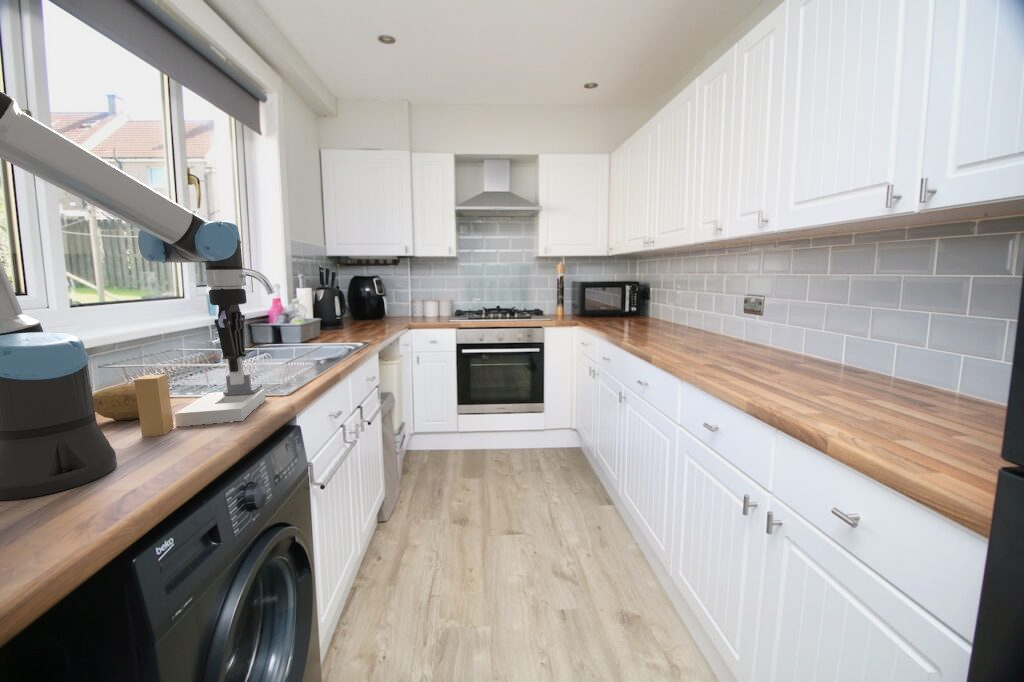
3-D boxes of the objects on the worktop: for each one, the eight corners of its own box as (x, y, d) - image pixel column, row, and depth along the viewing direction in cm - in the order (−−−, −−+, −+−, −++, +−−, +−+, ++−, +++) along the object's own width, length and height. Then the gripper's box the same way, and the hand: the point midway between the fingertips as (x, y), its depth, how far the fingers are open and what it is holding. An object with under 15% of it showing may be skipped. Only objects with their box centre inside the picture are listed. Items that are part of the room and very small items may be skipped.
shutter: (253, 393, 113) (251, 374, 112) (223, 395, 111) (221, 376, 110) (262, 387, 119) (260, 369, 118) (233, 388, 118) (231, 371, 117)
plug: (164, 434, 93) (157, 378, 91) (142, 436, 92) (134, 379, 90) (173, 428, 97) (166, 374, 95) (152, 430, 96) (145, 375, 94)
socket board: (242, 421, 101) (240, 408, 100) (176, 426, 98) (174, 413, 97) (265, 400, 118) (264, 389, 118) (210, 404, 115) (208, 392, 115)
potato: (99, 418, 105) (94, 384, 104) (173, 408, 112) (169, 377, 111) (86, 430, 97) (80, 394, 96) (167, 418, 104) (162, 385, 102)
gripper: (234, 288, 102) (245, 389, 106) (253, 287, 115) (262, 377, 118) (197, 289, 100) (209, 391, 104) (220, 287, 113) (230, 379, 116)
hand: (237, 383), depth 111 cm, fingers closed
